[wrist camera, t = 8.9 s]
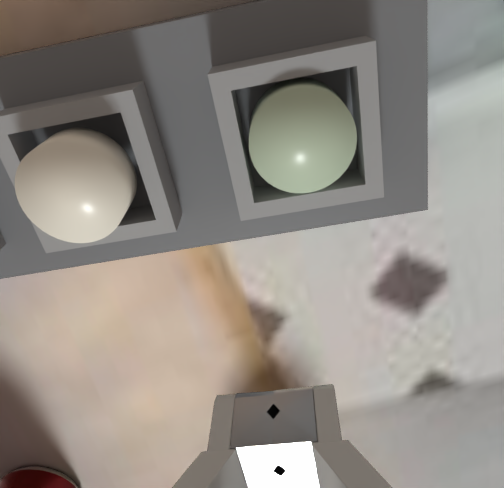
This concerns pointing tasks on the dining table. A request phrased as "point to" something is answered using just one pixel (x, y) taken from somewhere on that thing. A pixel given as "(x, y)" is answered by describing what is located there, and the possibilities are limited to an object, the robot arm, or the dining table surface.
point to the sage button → (301, 136)
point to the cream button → (76, 185)
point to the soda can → (36, 478)
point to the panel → (219, 122)
